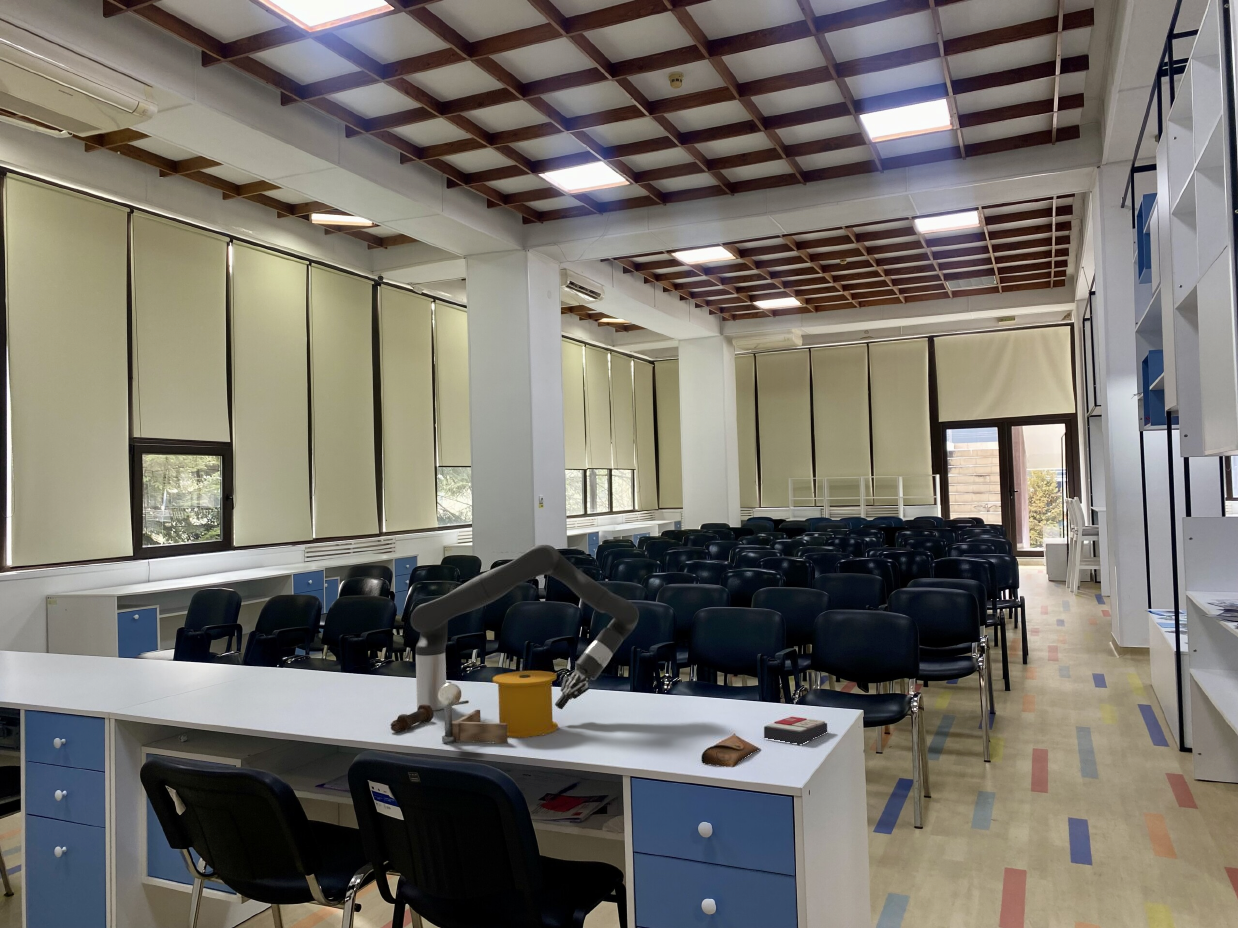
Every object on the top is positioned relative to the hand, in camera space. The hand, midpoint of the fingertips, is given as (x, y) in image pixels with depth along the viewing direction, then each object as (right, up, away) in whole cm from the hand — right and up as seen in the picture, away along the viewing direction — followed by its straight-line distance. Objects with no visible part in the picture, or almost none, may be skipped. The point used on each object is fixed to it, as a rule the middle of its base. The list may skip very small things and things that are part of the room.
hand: (558, 707), depth 258 cm
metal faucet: (-27, -5, -16) cm, 32 cm away
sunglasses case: (+45, -2, -39) cm, 60 cm away
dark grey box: (+64, -2, -22) cm, 68 cm away
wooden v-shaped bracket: (-23, -5, -14) cm, 27 cm away
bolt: (-43, -7, +2) cm, 44 cm away
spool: (-9, -5, -5) cm, 11 cm away
